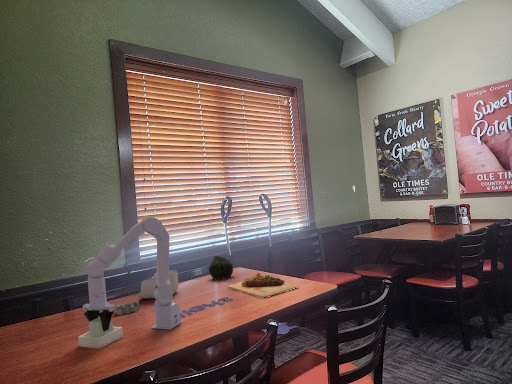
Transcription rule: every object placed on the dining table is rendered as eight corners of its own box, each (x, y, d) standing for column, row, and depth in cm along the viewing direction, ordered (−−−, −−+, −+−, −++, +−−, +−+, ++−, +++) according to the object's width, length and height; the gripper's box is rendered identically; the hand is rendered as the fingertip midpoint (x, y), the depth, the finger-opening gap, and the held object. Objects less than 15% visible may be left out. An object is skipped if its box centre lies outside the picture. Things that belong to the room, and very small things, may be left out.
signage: (226, 296, 168) (237, 299, 160) (226, 297, 168) (237, 301, 160) (173, 312, 150) (182, 316, 142) (173, 313, 150) (183, 318, 142)
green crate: (113, 331, 126) (111, 317, 126) (99, 338, 121) (98, 322, 121) (103, 330, 128) (101, 316, 129) (89, 337, 123) (88, 322, 123)
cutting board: (227, 288, 187) (225, 275, 187) (260, 279, 200) (259, 267, 201) (263, 300, 158) (262, 284, 158) (300, 288, 172) (299, 274, 172)
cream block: (173, 299, 174) (171, 276, 175) (137, 302, 175) (135, 279, 175) (182, 289, 194) (181, 268, 195) (150, 292, 195) (148, 271, 195)
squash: (238, 268, 209) (228, 250, 218) (216, 274, 201) (207, 254, 210) (232, 281, 218) (223, 262, 227) (211, 287, 210) (203, 267, 219)
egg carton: (115, 316, 155) (114, 307, 155) (116, 312, 162) (115, 303, 162) (139, 311, 158) (138, 302, 159) (139, 307, 166) (138, 299, 166)
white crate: (123, 336, 127) (122, 327, 127) (99, 348, 117) (99, 338, 117) (102, 334, 131) (102, 325, 131) (78, 346, 122) (78, 336, 122)
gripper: (74, 295, 124) (77, 332, 124) (102, 296, 118) (105, 335, 118) (90, 290, 131) (93, 325, 130) (118, 291, 125) (121, 327, 124)
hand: (100, 329), depth 124 cm, fingers closed on green crate, 5 cm apart
